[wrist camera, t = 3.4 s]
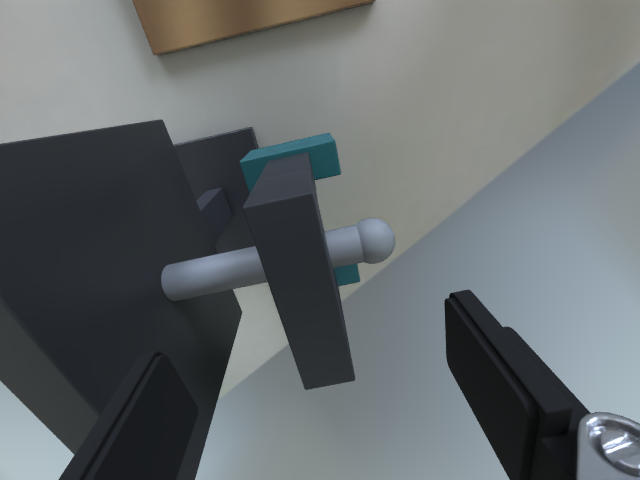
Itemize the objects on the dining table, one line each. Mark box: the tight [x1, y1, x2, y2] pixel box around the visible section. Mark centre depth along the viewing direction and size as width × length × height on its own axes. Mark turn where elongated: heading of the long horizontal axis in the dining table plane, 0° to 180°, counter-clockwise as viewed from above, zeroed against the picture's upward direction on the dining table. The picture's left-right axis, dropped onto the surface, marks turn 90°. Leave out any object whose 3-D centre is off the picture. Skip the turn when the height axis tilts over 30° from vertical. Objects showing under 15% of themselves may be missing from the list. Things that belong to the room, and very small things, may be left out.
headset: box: [240, 133, 360, 390], centre depth 17 cm, size 6×10×12 cm, turn 12°
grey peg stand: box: [0, 120, 395, 480], centre depth 20 cm, size 18×16×22 cm
